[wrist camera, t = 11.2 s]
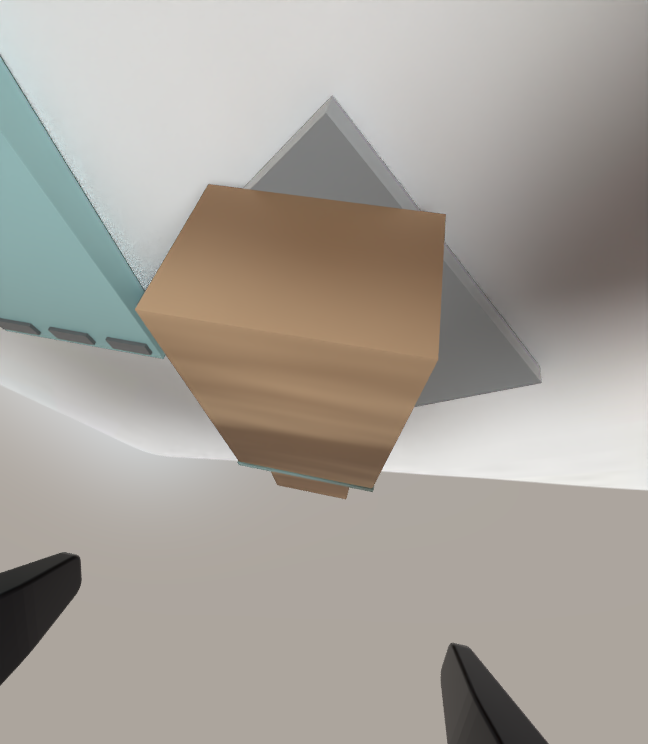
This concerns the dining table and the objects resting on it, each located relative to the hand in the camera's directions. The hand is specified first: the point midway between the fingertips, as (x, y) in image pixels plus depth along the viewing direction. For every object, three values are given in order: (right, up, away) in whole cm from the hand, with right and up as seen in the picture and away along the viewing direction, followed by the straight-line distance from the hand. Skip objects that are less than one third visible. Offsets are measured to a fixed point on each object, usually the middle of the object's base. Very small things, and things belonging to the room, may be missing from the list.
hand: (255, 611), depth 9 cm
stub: (+1, +1, +10) cm, 10 cm away
